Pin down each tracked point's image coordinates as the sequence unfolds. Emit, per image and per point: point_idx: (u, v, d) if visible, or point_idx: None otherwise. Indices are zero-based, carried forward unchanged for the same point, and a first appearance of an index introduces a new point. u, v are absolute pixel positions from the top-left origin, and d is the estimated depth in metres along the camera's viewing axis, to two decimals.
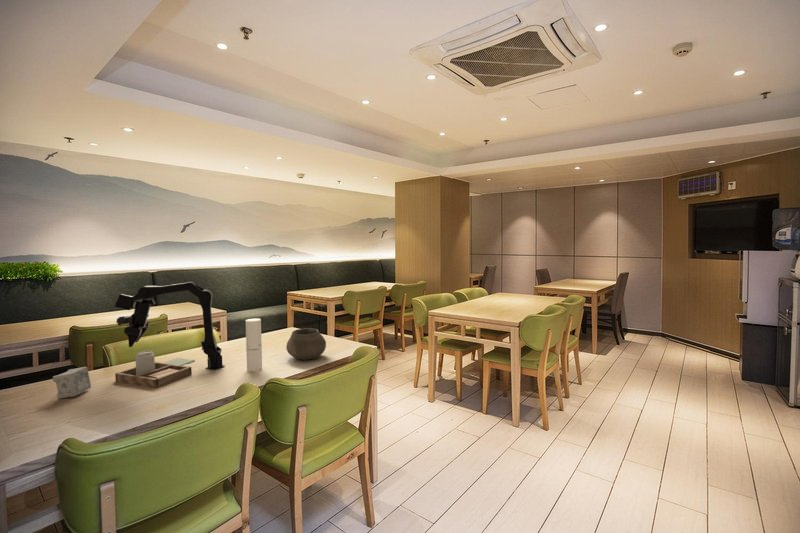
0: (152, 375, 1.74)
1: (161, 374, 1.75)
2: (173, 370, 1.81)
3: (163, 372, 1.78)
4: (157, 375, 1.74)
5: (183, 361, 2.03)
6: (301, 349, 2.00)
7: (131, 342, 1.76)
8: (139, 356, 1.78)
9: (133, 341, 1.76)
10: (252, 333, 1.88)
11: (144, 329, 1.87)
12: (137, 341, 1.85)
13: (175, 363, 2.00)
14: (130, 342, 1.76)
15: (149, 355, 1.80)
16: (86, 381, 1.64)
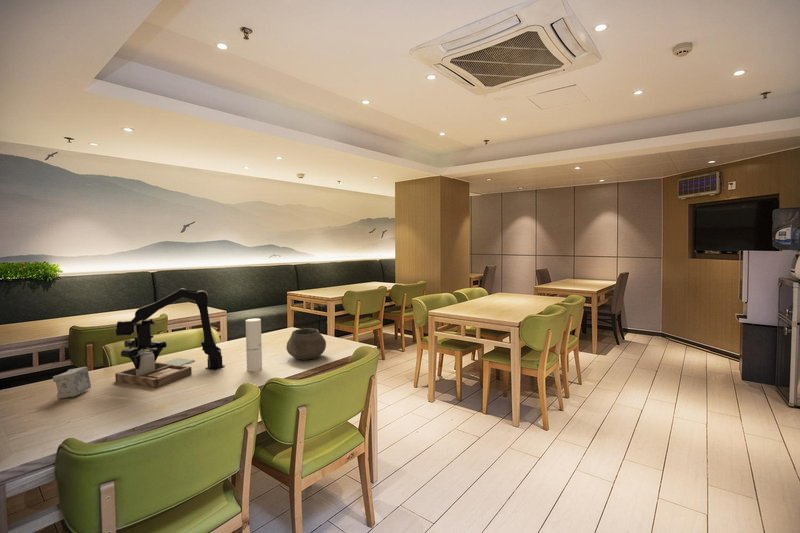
0: (152, 375, 1.74)
1: (161, 374, 1.75)
2: (173, 370, 1.81)
3: (163, 372, 1.78)
4: (157, 375, 1.74)
5: (183, 361, 2.03)
6: (301, 349, 2.00)
7: (135, 364, 1.76)
8: None
9: (136, 363, 1.76)
10: (252, 333, 1.88)
11: (156, 351, 1.84)
12: None
13: (175, 363, 2.00)
14: (135, 364, 1.77)
15: (149, 355, 1.80)
16: (86, 381, 1.64)
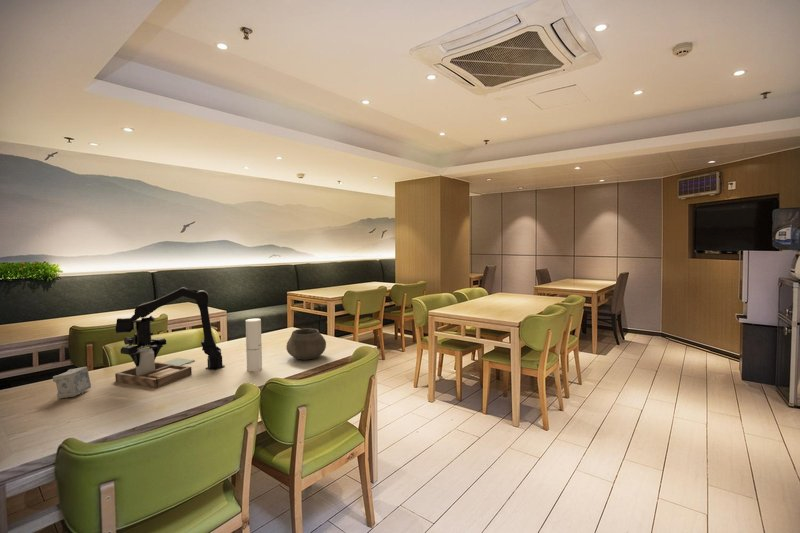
0: (152, 374, 1.74)
1: (162, 373, 1.75)
2: (173, 369, 1.81)
3: (163, 371, 1.78)
4: (158, 375, 1.74)
5: (183, 361, 2.03)
6: (301, 349, 2.00)
7: (135, 361, 1.76)
8: None
9: (136, 360, 1.76)
10: (252, 333, 1.88)
11: (156, 348, 1.84)
12: None
13: (175, 363, 2.00)
14: (134, 361, 1.77)
15: (149, 352, 1.79)
16: (86, 381, 1.64)
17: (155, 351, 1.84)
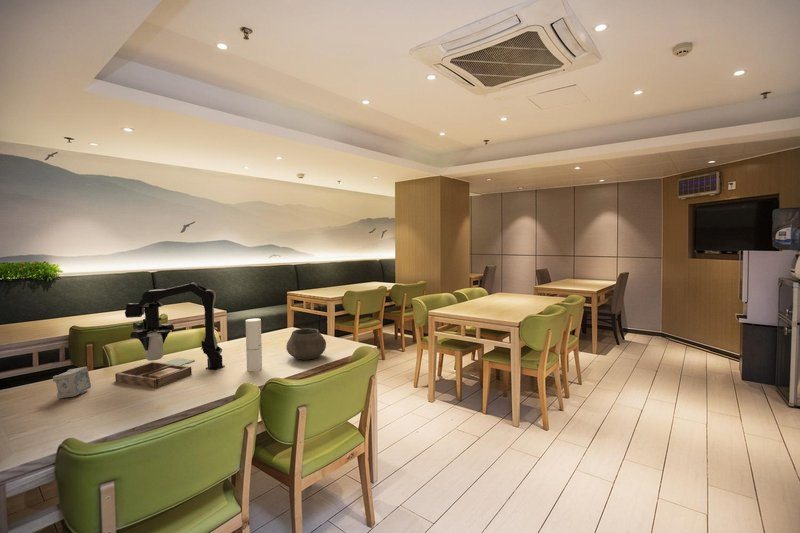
0: (153, 374, 1.74)
1: (162, 373, 1.76)
2: (173, 369, 1.81)
3: (163, 371, 1.78)
4: (158, 374, 1.74)
5: (183, 361, 2.03)
6: (301, 349, 2.00)
7: (144, 346, 1.81)
8: None
9: (145, 344, 1.81)
10: (252, 333, 1.88)
11: (164, 333, 1.89)
12: None
13: (175, 363, 2.00)
14: (144, 346, 1.81)
15: (157, 337, 1.84)
16: (86, 381, 1.64)
17: (163, 336, 1.89)
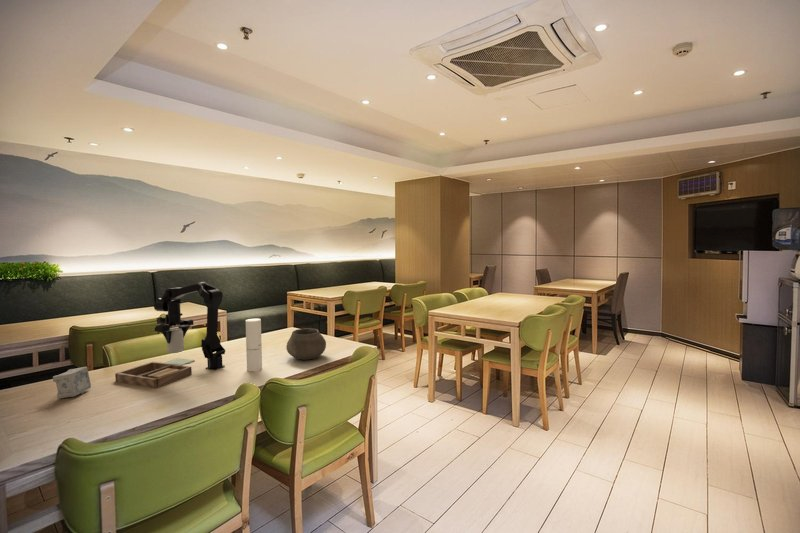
0: (152, 375, 1.74)
1: (161, 373, 1.75)
2: (172, 369, 1.81)
3: (163, 371, 1.78)
4: (157, 375, 1.74)
5: (183, 361, 2.03)
6: (301, 349, 2.00)
7: (167, 339, 1.96)
8: None
9: (168, 338, 1.96)
10: (252, 333, 1.88)
11: (185, 327, 2.04)
12: None
13: (175, 363, 2.00)
14: (166, 339, 1.96)
15: (179, 331, 1.99)
16: (86, 381, 1.64)
17: (184, 330, 2.04)
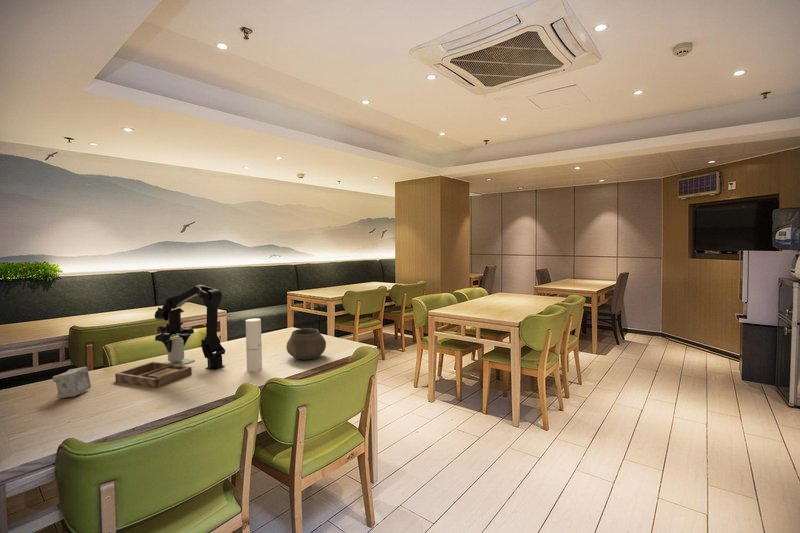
0: (152, 375, 1.74)
1: (161, 373, 1.75)
2: (172, 369, 1.81)
3: (163, 372, 1.78)
4: (158, 375, 1.74)
5: (183, 361, 2.03)
6: (301, 349, 2.00)
7: (167, 348, 1.97)
8: None
9: (168, 347, 1.96)
10: (252, 333, 1.88)
11: (185, 336, 2.04)
12: None
13: (175, 363, 2.00)
14: (167, 348, 1.97)
15: (179, 340, 2.00)
16: (86, 381, 1.64)
17: (184, 339, 2.04)
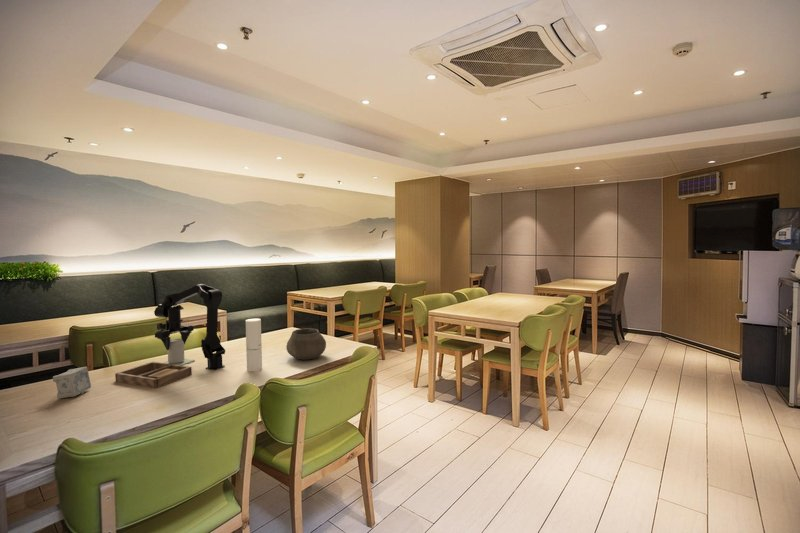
0: (152, 375, 1.73)
1: (162, 374, 1.75)
2: (172, 370, 1.81)
3: (162, 372, 1.78)
4: (158, 375, 1.74)
5: (183, 361, 2.03)
6: (301, 349, 2.00)
7: (166, 345, 1.96)
8: (171, 343, 1.98)
9: (166, 344, 1.95)
10: (252, 333, 1.88)
11: (186, 333, 2.05)
12: None
13: None
14: (165, 345, 1.96)
15: (180, 342, 2.00)
16: (86, 381, 1.64)
17: (185, 336, 2.05)
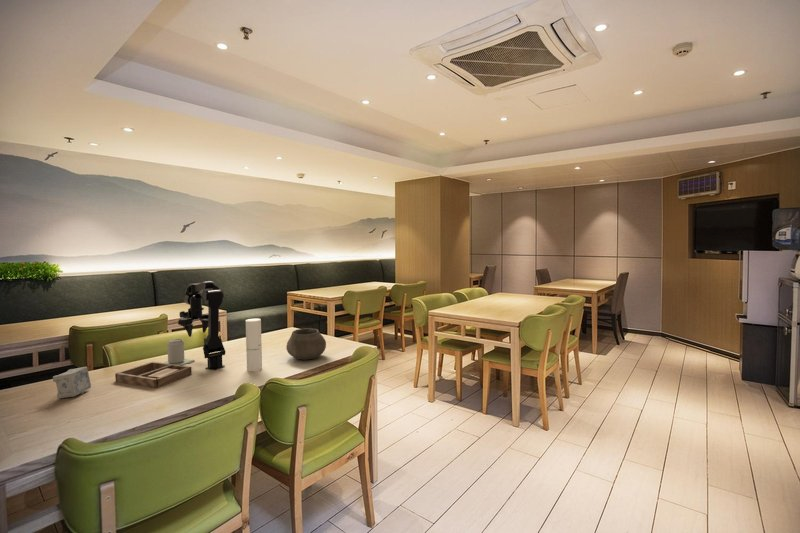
0: (152, 375, 1.74)
1: (161, 374, 1.75)
2: (171, 369, 1.81)
3: (162, 372, 1.78)
4: (158, 375, 1.74)
5: (183, 361, 2.03)
6: (301, 349, 2.00)
7: (188, 332, 2.05)
8: (171, 343, 1.98)
9: (189, 331, 2.04)
10: (252, 333, 1.88)
11: (207, 321, 2.14)
12: (204, 332, 2.14)
13: None
14: (188, 332, 2.05)
15: (179, 342, 2.00)
16: (86, 381, 1.64)
17: (206, 324, 2.14)
